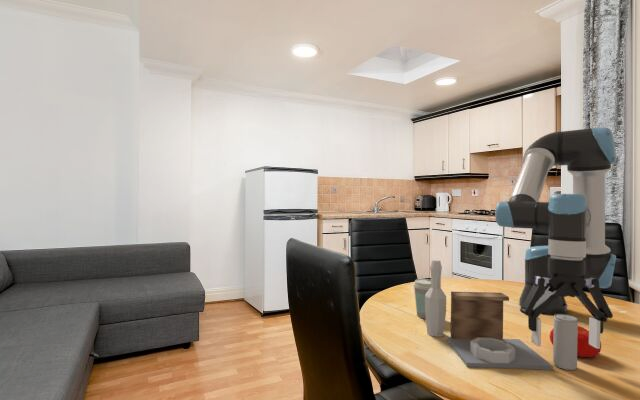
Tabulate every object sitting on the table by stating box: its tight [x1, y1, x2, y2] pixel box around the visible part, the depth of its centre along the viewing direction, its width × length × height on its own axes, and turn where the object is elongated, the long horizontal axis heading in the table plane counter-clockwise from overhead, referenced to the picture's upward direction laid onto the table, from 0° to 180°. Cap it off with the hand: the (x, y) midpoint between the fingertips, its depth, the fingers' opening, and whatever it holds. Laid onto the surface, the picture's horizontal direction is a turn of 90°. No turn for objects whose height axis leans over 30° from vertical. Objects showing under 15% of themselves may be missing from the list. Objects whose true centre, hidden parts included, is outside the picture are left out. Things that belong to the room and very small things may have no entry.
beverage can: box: [552, 313, 579, 371], centre depth 87 cm, size 5×5×12 cm
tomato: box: [549, 325, 602, 358], centre depth 95 cm, size 10×11×7 cm
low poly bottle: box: [425, 259, 447, 338], centre depth 107 cm, size 6×6×22 cm
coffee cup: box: [413, 278, 431, 320], centre depth 123 cm, size 8×8×12 cm
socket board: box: [446, 336, 554, 371], centre depth 94 cm, size 20×16×4 cm
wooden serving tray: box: [450, 291, 510, 340], centre depth 99 cm, size 14×4×14 cm, turn 87°
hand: (565, 345), depth 87 cm, fingers open, 13 cm apart
